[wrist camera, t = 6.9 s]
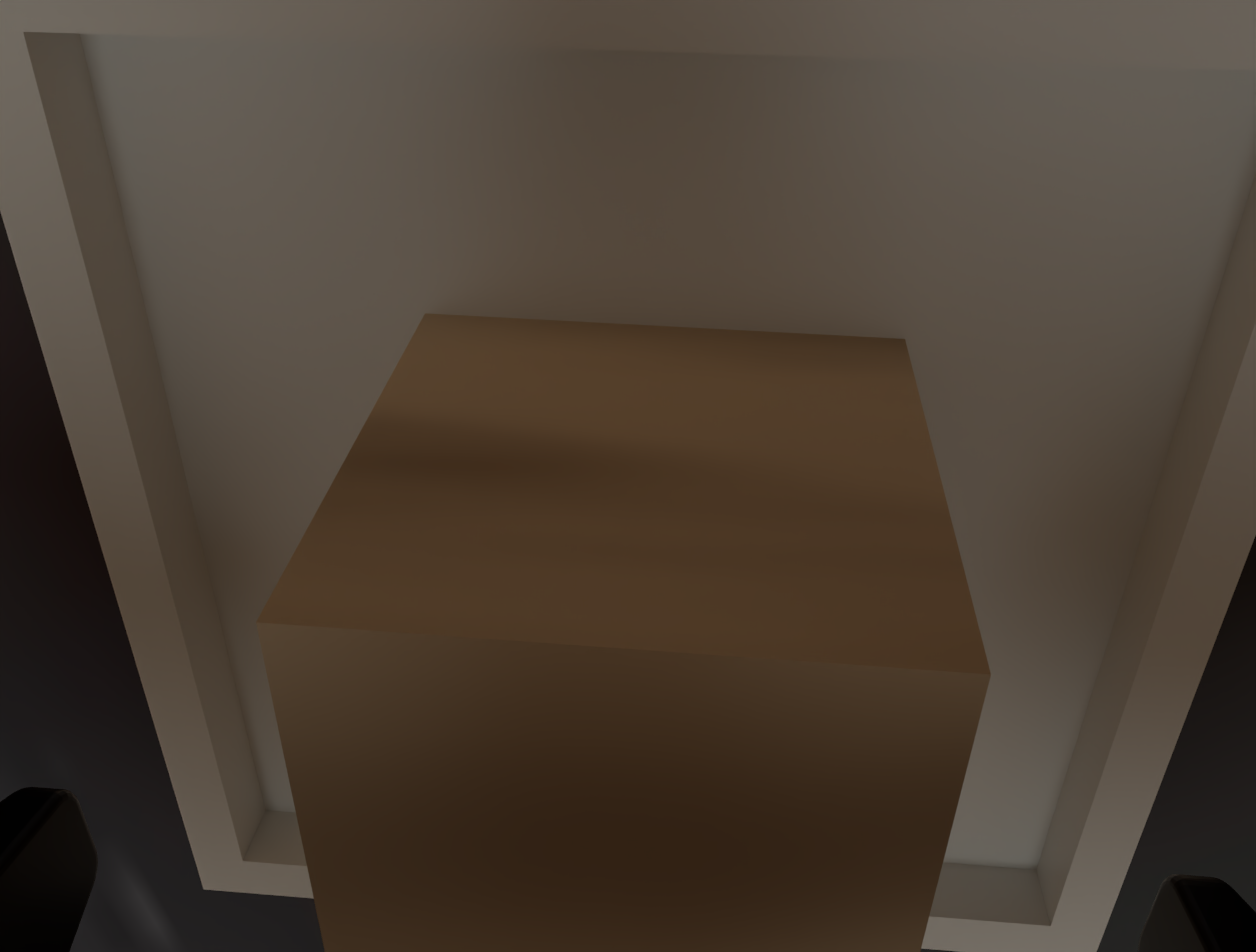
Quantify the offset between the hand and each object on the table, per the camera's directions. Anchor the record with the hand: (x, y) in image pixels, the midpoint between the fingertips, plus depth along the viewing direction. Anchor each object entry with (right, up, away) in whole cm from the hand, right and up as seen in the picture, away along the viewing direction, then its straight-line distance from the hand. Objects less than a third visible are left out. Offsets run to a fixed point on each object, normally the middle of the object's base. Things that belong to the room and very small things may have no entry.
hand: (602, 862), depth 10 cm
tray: (+1, +3, +4) cm, 5 cm away
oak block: (+1, +3, +4) cm, 5 cm away
